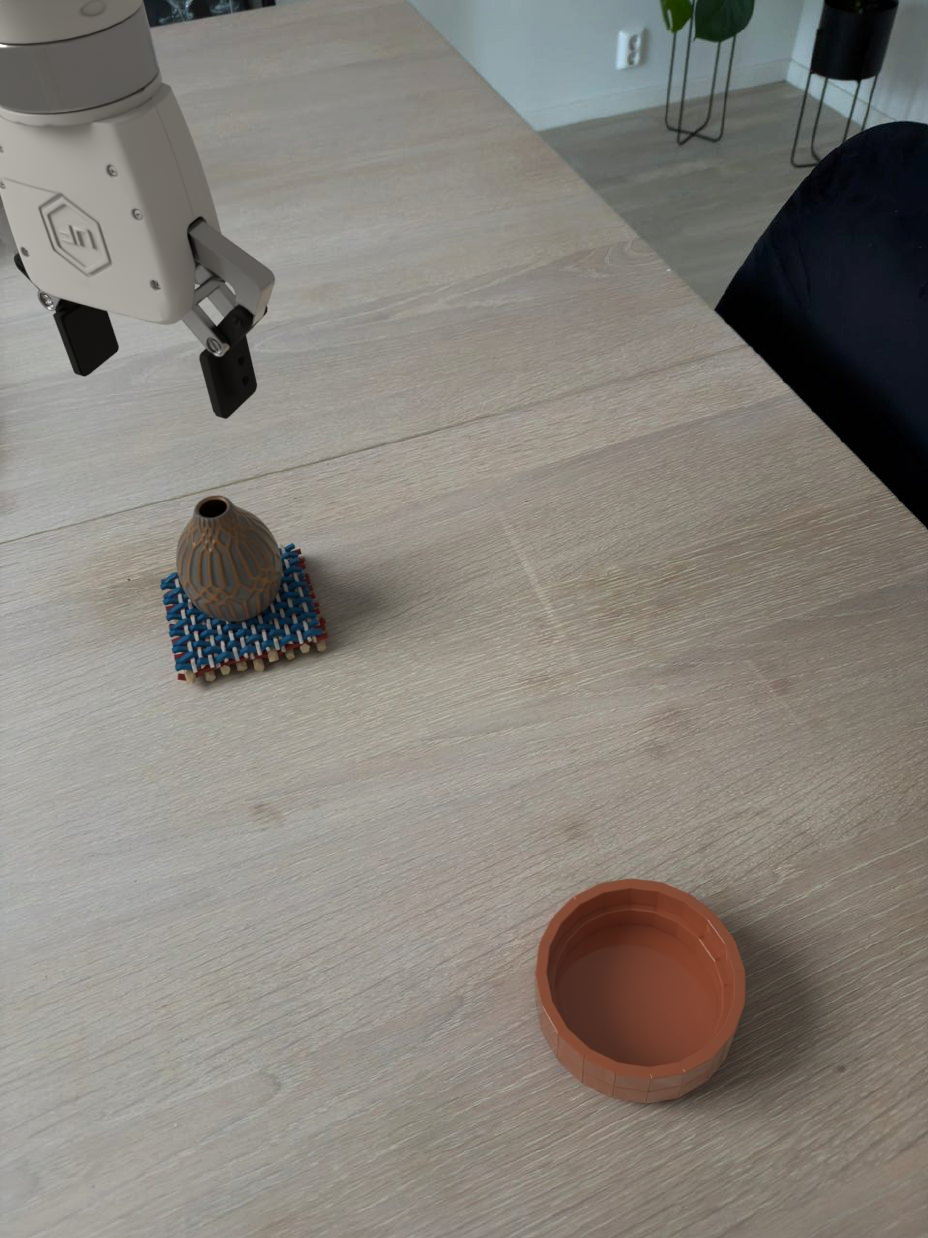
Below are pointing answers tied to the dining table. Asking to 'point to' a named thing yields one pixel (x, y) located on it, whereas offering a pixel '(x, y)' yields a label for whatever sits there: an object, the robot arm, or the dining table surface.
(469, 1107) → the dining table surface
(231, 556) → the vase
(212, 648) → the woven mat
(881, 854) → the dining table surface
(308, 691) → the dining table surface
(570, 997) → the bowl
